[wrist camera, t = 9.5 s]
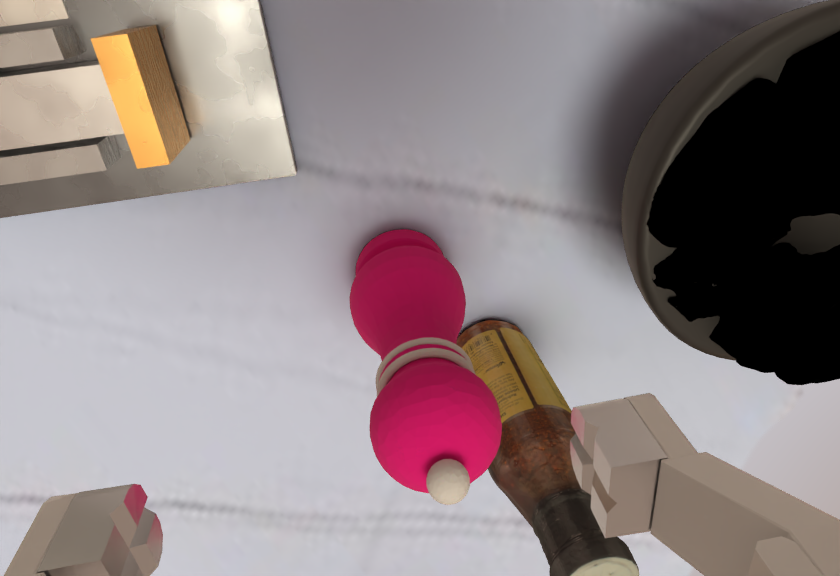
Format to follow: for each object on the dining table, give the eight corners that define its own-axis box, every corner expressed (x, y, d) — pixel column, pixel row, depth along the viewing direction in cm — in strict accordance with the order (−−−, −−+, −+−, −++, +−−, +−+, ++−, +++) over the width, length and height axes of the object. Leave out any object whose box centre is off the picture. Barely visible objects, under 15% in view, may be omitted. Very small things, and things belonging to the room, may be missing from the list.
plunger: (-88, -15, 28) (-163, -12, 24) (135, -42, 28) (101, -44, 24) (-2, 166, 32) (-52, 195, 28) (190, 139, 33) (169, 164, 29)
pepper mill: (326, 268, 39) (320, 504, 22) (405, 199, 38) (468, 396, 20) (395, 331, 42) (439, 581, 25) (472, 271, 41) (574, 493, 24)
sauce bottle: (446, 384, 45) (515, 637, 28) (450, 316, 42) (531, 553, 25) (526, 379, 46) (641, 622, 29) (536, 312, 43) (671, 539, 26)
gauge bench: (-156, -5, 29) (-288, 1, 23) (248, -54, 30) (226, -60, 24) (-37, 218, 35) (-116, 270, 28) (297, 170, 36) (289, 211, 30)
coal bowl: (585, 315, 44) (734, 518, 28) (551, 40, 34) (752, 103, 18) (838, 243, 44) (1139, 404, 28) (878, -54, 34) (1385, -77, 18)
